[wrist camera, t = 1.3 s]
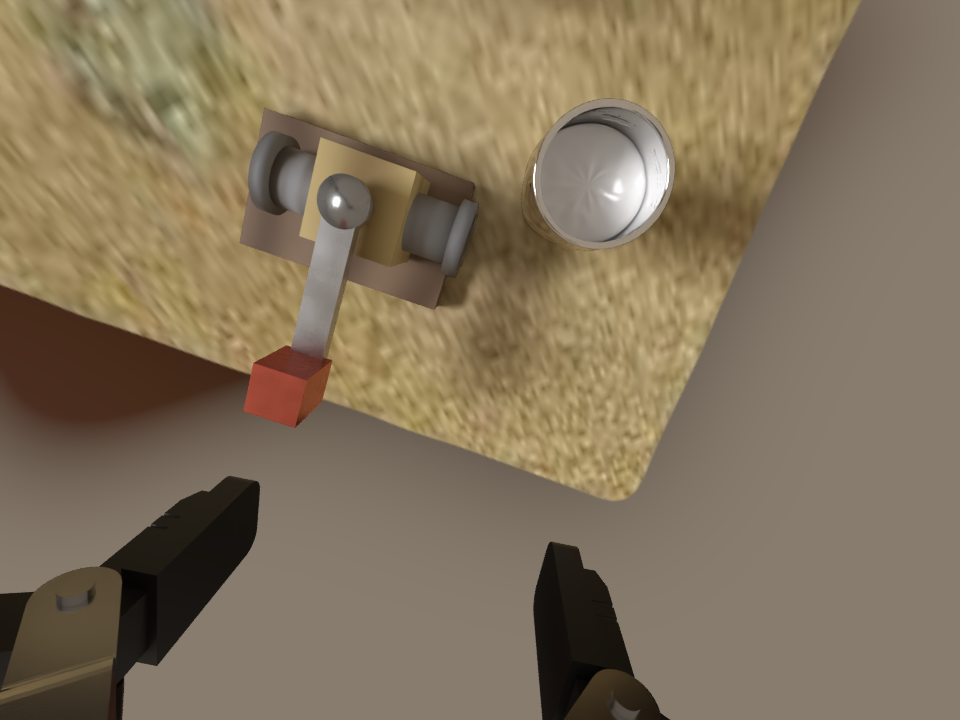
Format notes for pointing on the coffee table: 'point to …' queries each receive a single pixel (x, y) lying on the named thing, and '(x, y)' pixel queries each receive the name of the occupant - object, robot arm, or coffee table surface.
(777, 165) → the coffee table surface
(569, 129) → the beer glass
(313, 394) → the valve lever
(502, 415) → the coffee table surface
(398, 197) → the valve pipe
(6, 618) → the robot arm
